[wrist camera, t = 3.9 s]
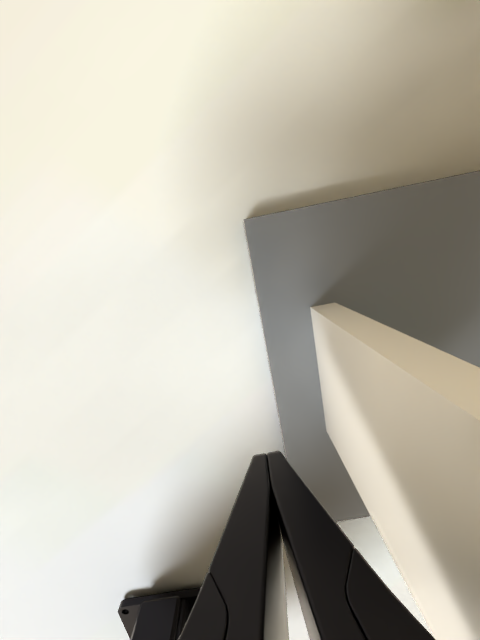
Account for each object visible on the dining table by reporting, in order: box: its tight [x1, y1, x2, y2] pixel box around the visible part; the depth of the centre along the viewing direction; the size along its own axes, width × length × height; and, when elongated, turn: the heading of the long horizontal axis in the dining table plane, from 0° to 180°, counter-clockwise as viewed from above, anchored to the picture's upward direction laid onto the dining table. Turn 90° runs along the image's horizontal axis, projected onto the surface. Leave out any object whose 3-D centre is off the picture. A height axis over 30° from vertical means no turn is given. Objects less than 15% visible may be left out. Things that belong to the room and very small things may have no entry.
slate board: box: [243, 171, 480, 522], centre depth 13 cm, size 18×16×1 cm
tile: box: [310, 303, 480, 640], centre depth 9 cm, size 7×1×9 cm, turn 11°
